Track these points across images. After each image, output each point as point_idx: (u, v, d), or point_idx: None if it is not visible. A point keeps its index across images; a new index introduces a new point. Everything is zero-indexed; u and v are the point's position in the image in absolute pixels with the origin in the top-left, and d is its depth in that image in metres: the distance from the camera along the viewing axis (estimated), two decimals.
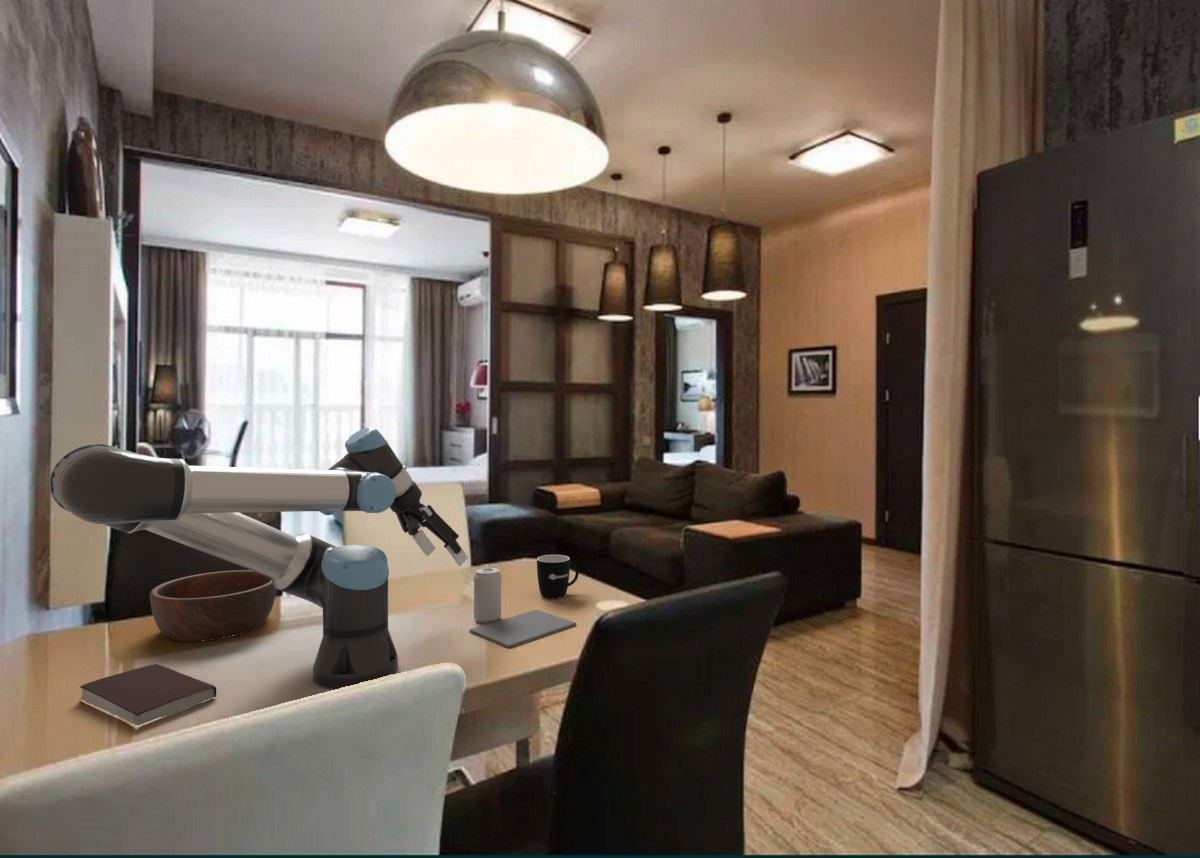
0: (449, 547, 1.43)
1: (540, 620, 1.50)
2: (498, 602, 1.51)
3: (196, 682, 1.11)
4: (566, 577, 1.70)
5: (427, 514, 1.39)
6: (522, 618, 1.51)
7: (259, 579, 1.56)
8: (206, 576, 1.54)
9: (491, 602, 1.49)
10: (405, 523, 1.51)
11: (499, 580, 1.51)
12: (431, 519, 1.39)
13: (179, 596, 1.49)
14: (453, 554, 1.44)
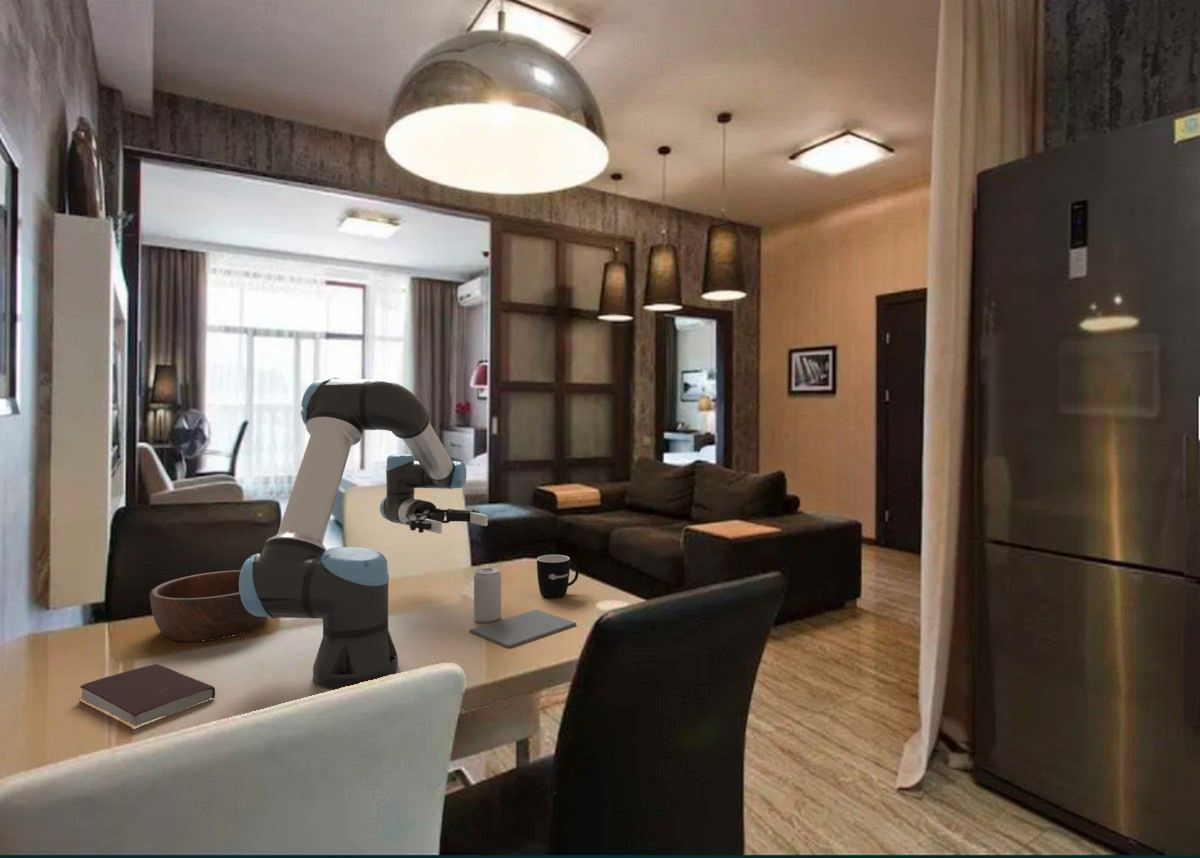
0: None
1: (540, 620, 1.50)
2: (498, 602, 1.51)
3: (194, 682, 1.11)
4: (566, 577, 1.70)
5: None
6: (522, 618, 1.51)
7: None
8: (206, 576, 1.54)
9: (491, 602, 1.49)
10: None
11: (499, 580, 1.51)
12: None
13: (179, 596, 1.49)
14: None
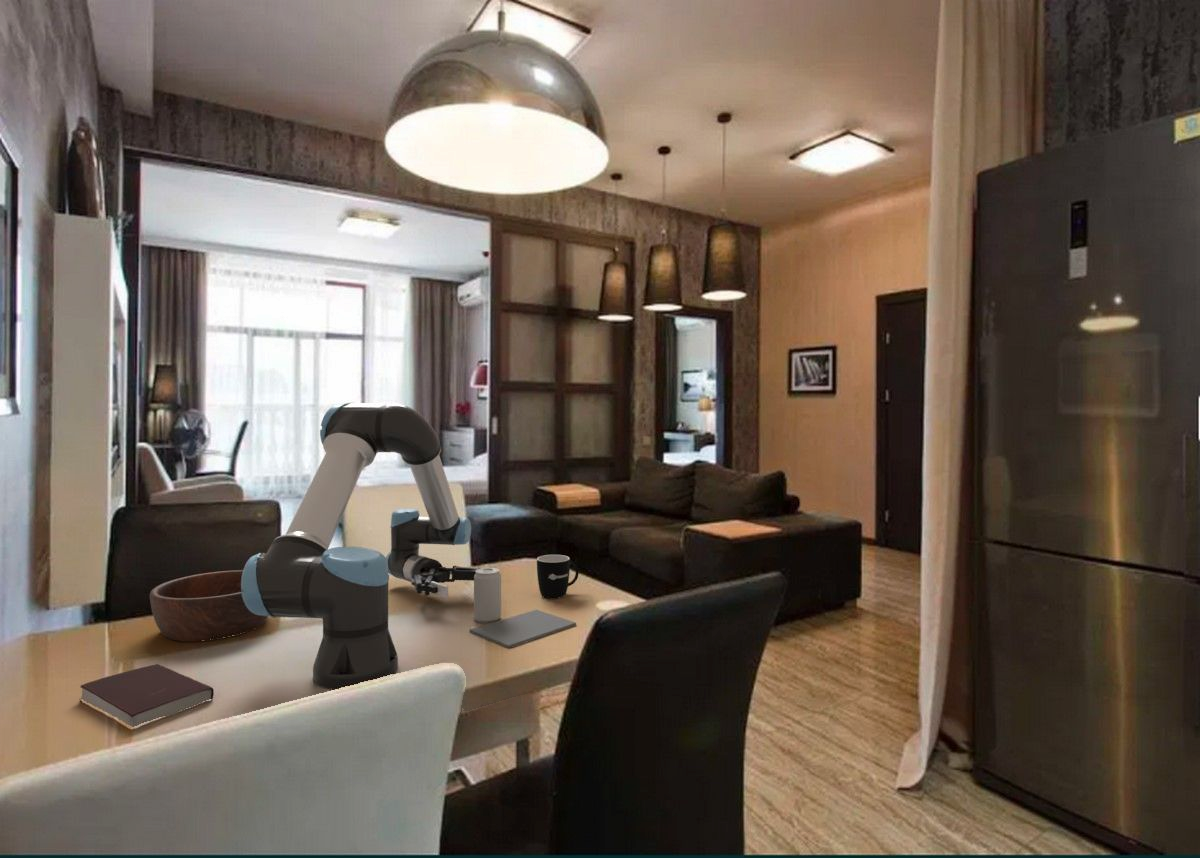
0: None
1: (540, 620, 1.50)
2: (498, 602, 1.51)
3: (193, 683, 1.11)
4: (566, 577, 1.70)
5: None
6: (522, 618, 1.51)
7: None
8: (206, 576, 1.54)
9: (491, 602, 1.49)
10: None
11: (499, 580, 1.51)
12: None
13: (179, 596, 1.49)
14: None
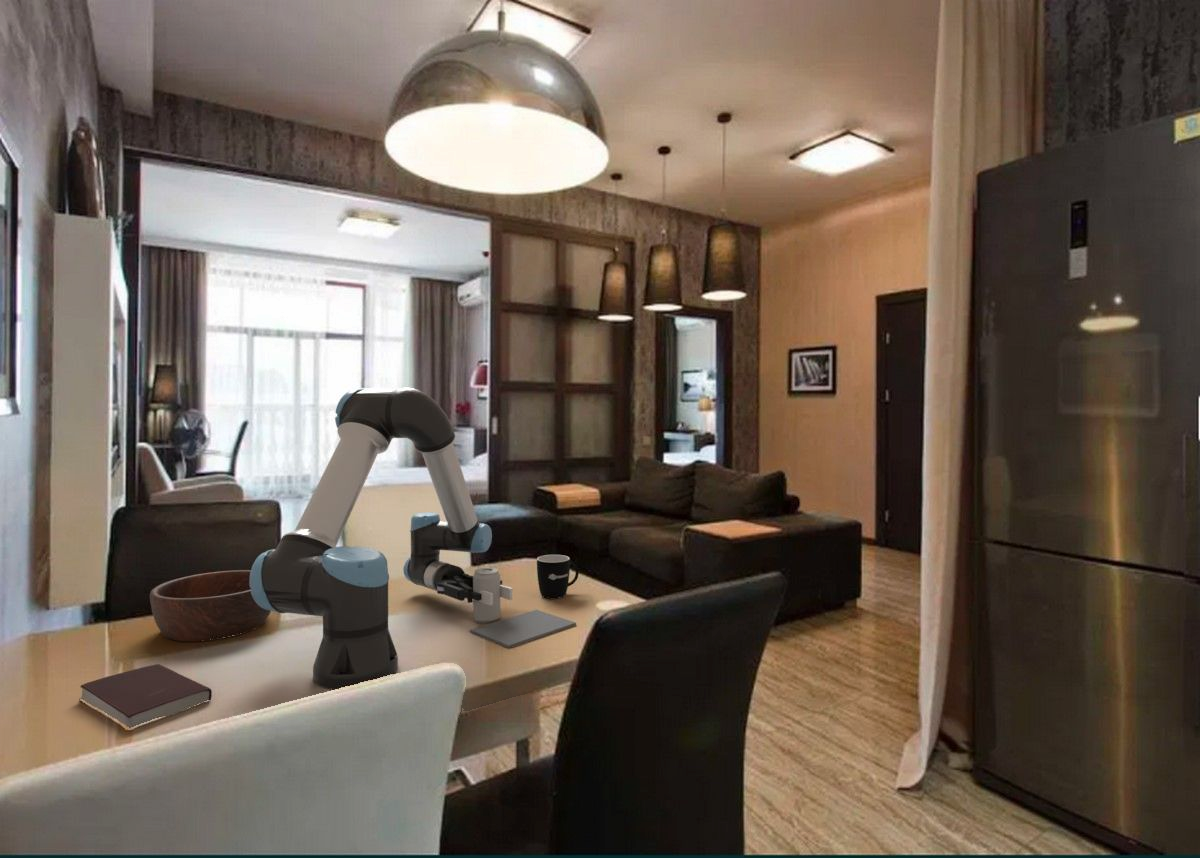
0: None
1: (540, 620, 1.50)
2: (497, 602, 1.51)
3: (192, 683, 1.11)
4: (566, 577, 1.70)
5: None
6: (522, 618, 1.51)
7: None
8: (206, 576, 1.54)
9: None
10: None
11: (498, 580, 1.51)
12: None
13: (179, 596, 1.49)
14: None
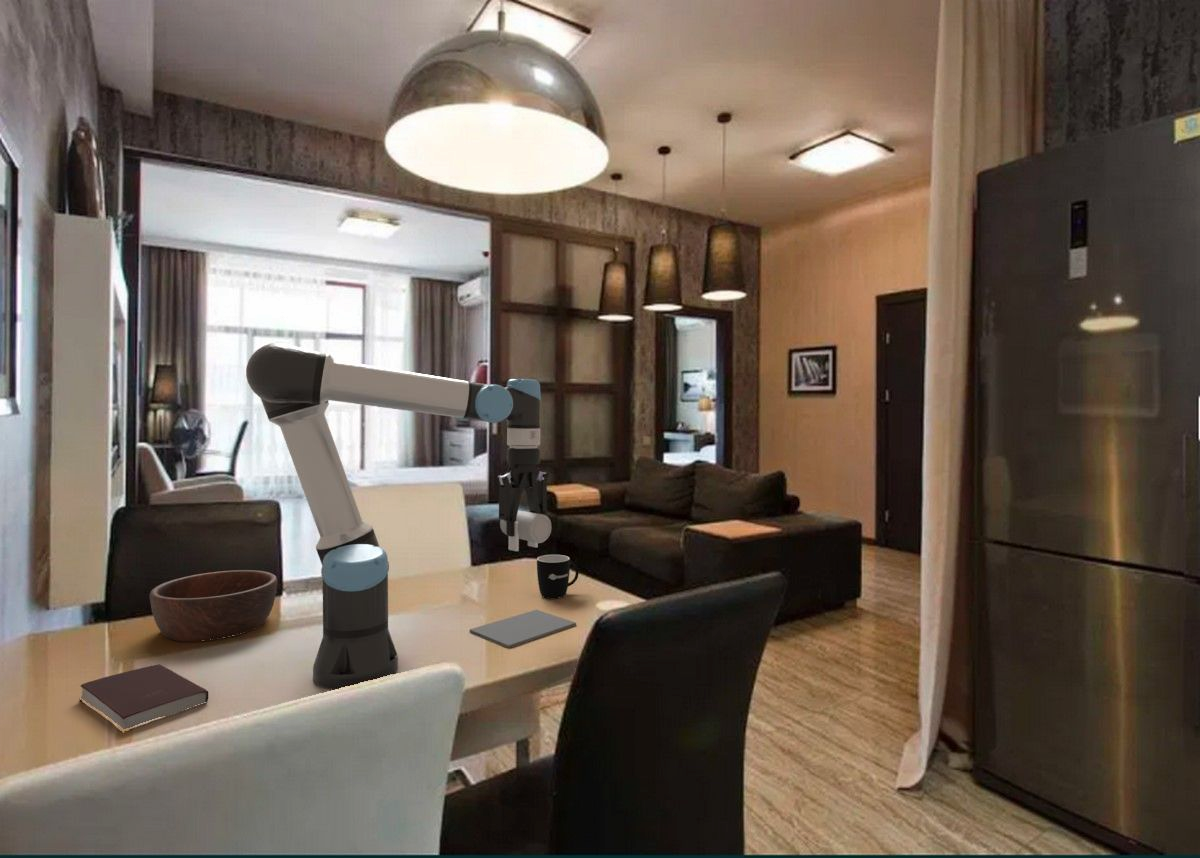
0: None
1: (540, 620, 1.50)
2: None
3: (190, 685, 1.10)
4: (566, 577, 1.70)
5: (499, 482, 1.41)
6: (522, 618, 1.51)
7: (259, 578, 1.56)
8: (206, 576, 1.54)
9: None
10: (538, 500, 1.49)
11: None
12: (500, 488, 1.41)
13: (179, 596, 1.49)
14: None
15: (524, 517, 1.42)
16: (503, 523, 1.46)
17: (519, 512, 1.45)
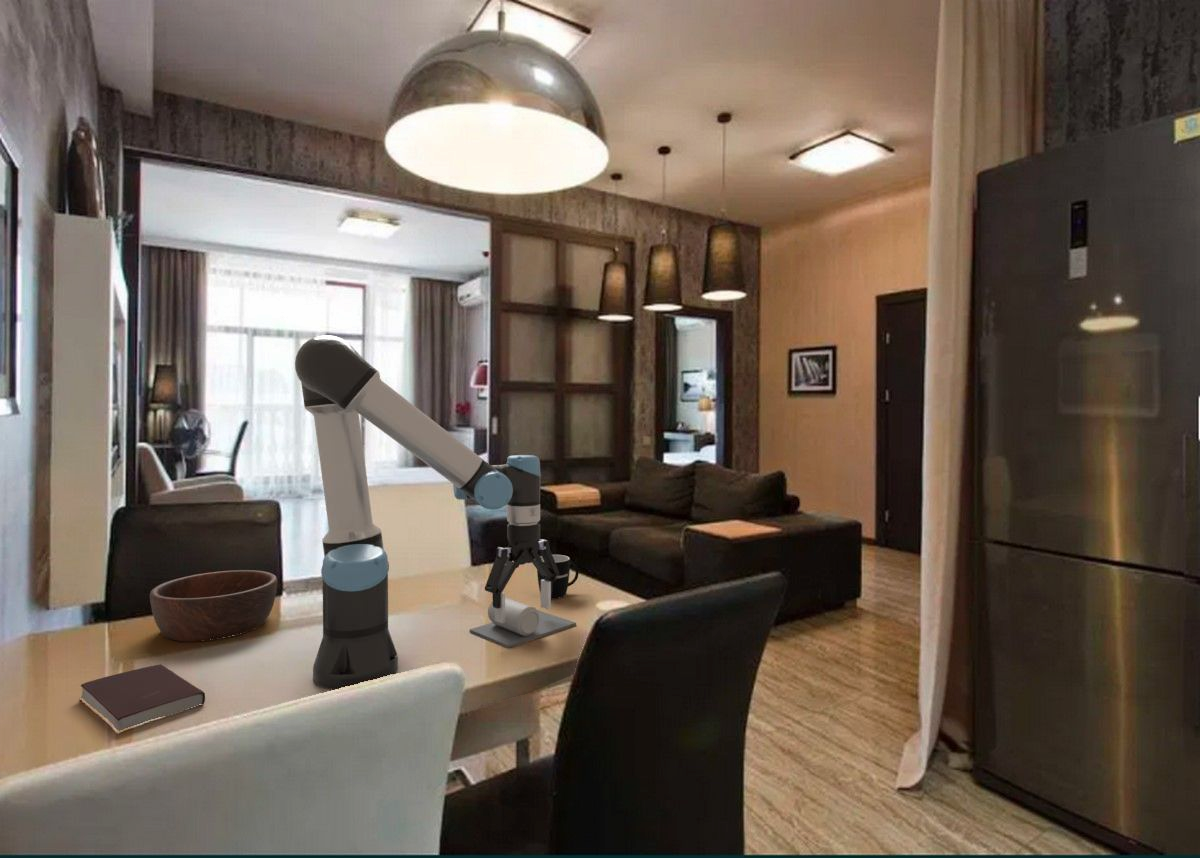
0: None
1: (540, 620, 1.50)
2: None
3: (187, 686, 1.10)
4: (566, 577, 1.70)
5: (498, 553, 1.41)
6: None
7: (259, 579, 1.56)
8: (206, 576, 1.54)
9: None
10: (547, 564, 1.52)
11: None
12: (497, 559, 1.41)
13: (179, 596, 1.49)
14: None
15: (509, 627, 1.40)
16: (497, 625, 1.45)
17: None
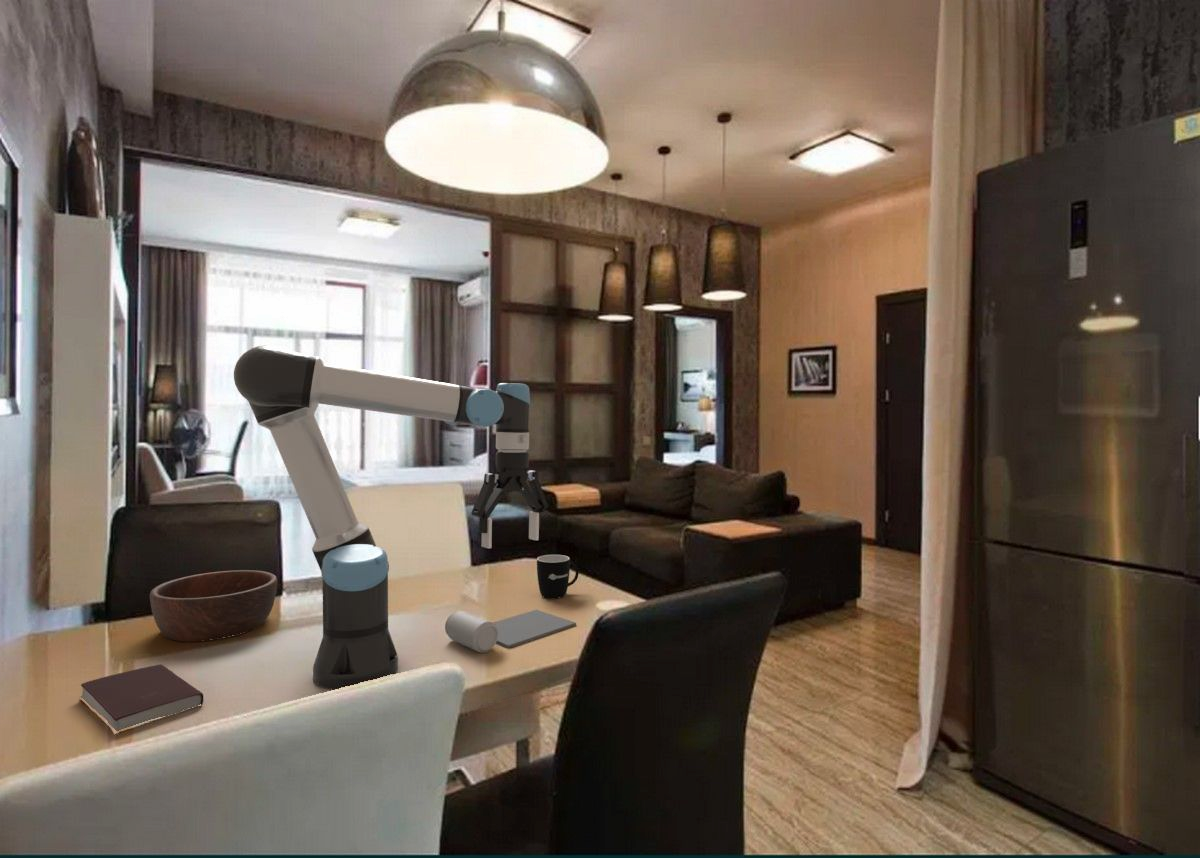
0: None
1: (540, 620, 1.50)
2: (462, 633, 1.32)
3: (186, 687, 1.09)
4: (566, 577, 1.70)
5: (485, 478, 1.41)
6: (522, 618, 1.51)
7: (259, 578, 1.56)
8: (206, 576, 1.54)
9: (463, 642, 1.33)
10: (535, 496, 1.52)
11: (449, 625, 1.36)
12: (484, 485, 1.41)
13: (179, 596, 1.49)
14: None
15: None
16: (461, 611, 1.38)
17: None
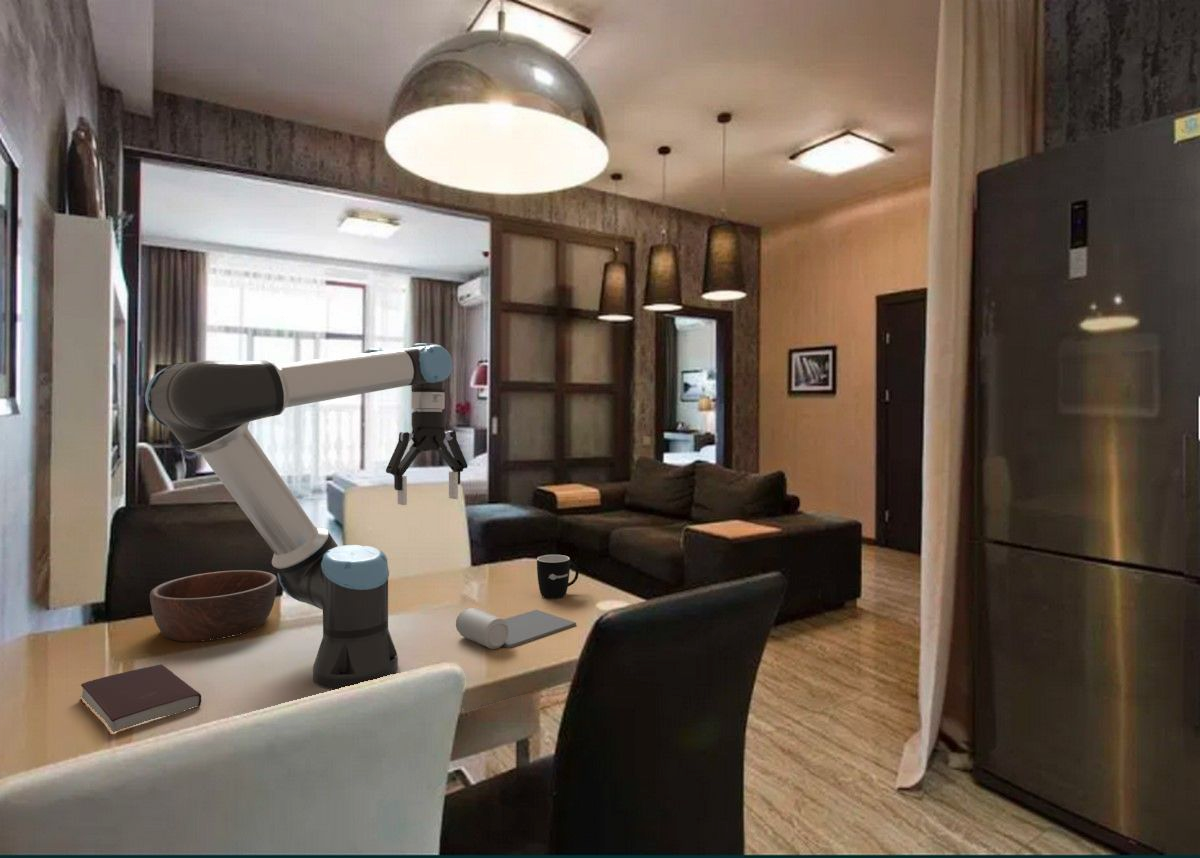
0: None
1: (540, 620, 1.50)
2: (480, 617, 1.35)
3: (184, 687, 1.09)
4: (566, 577, 1.70)
5: (400, 437, 1.44)
6: (522, 618, 1.51)
7: (259, 579, 1.56)
8: (206, 576, 1.54)
9: (473, 625, 1.35)
10: (455, 456, 1.55)
11: (468, 611, 1.39)
12: (399, 443, 1.44)
13: (179, 596, 1.49)
14: None
15: None
16: None
17: None
